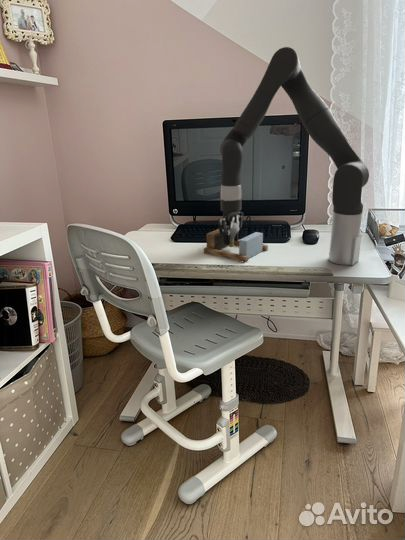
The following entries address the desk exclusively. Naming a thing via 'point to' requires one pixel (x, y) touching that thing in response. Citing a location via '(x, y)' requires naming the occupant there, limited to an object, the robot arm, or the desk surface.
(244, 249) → the slide jaw
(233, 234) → the light bulb
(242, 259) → the vise frame
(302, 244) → the desk surface
